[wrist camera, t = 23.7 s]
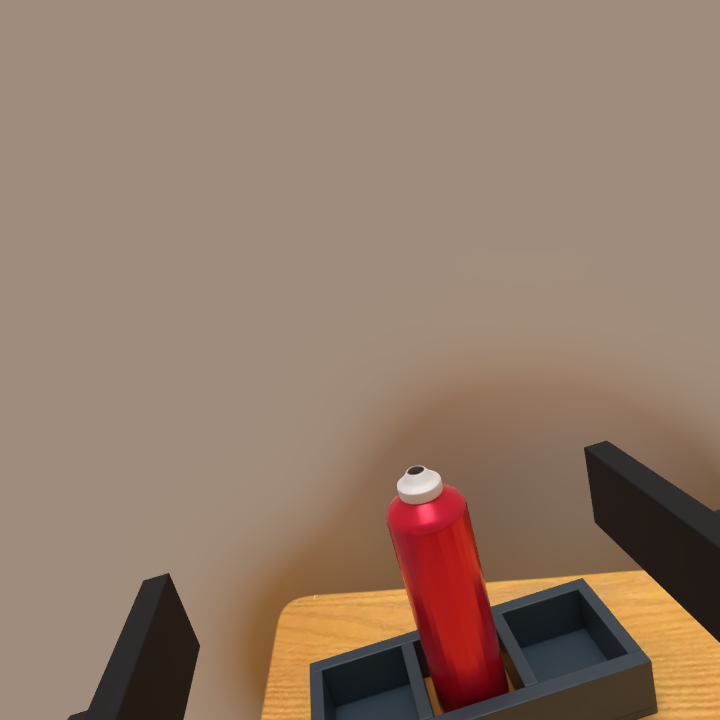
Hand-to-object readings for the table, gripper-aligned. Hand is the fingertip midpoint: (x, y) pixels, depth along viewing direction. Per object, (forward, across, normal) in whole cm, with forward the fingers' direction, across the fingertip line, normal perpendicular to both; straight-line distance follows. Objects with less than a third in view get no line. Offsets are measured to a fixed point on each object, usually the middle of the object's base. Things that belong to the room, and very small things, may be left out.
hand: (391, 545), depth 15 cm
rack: (+16, +3, -28) cm, 32 cm away
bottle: (+16, +3, -27) cm, 32 cm away
